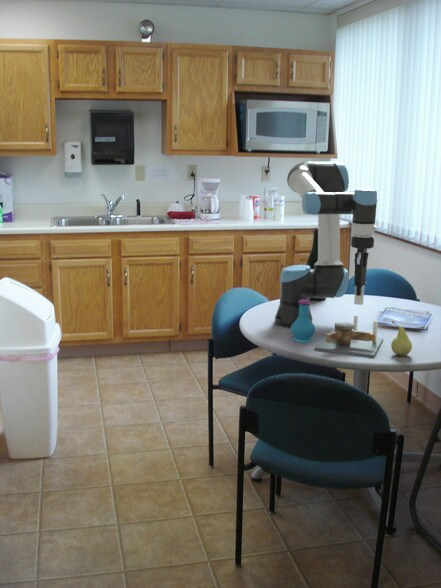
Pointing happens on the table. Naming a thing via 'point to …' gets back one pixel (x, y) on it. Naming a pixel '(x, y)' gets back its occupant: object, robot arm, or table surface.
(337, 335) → the capstan
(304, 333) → the perfume bottle
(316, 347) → the stand
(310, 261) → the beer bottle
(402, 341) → the fruit
